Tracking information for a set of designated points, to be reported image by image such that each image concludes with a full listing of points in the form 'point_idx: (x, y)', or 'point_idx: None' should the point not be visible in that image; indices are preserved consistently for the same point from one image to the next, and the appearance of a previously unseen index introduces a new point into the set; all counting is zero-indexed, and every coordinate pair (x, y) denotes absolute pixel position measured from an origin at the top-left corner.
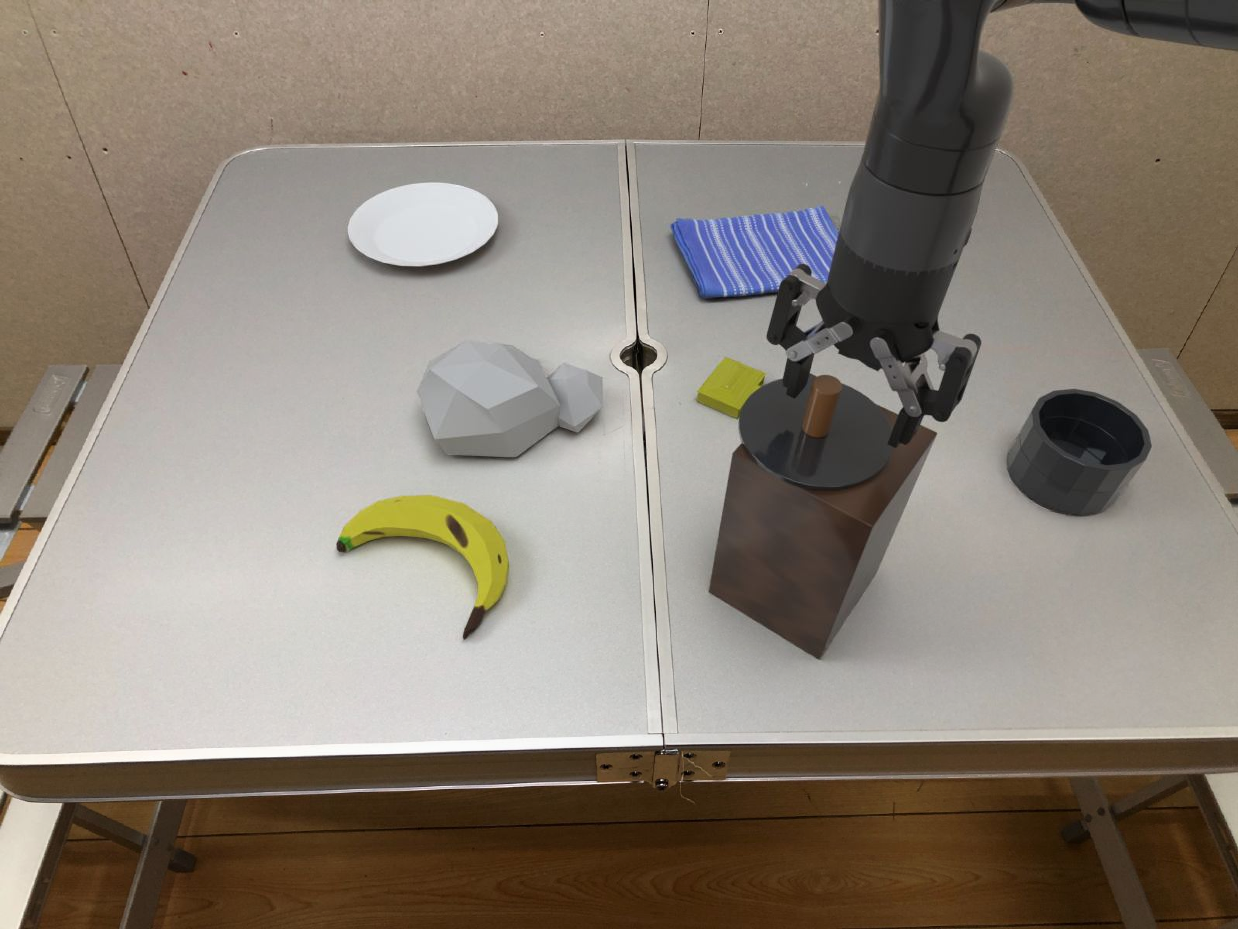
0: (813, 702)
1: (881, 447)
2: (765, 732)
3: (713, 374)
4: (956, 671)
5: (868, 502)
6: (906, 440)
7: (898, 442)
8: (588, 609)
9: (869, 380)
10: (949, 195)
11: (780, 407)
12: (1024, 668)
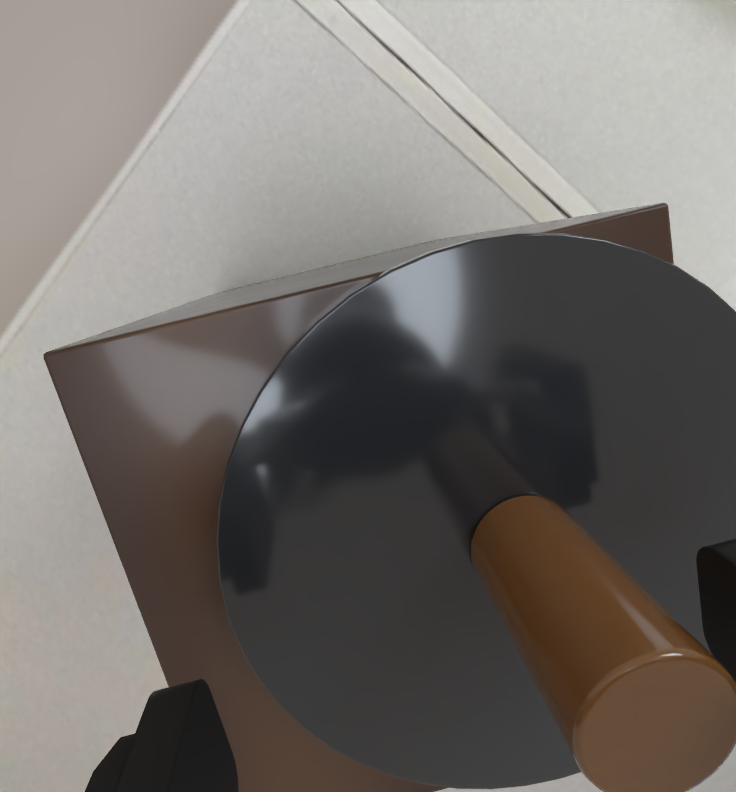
0: (165, 222)
1: (292, 661)
2: (173, 109)
3: None
4: (63, 457)
5: (143, 435)
6: (114, 764)
7: (144, 724)
8: (562, 29)
9: (556, 782)
10: None
11: (682, 516)
12: (3, 545)
